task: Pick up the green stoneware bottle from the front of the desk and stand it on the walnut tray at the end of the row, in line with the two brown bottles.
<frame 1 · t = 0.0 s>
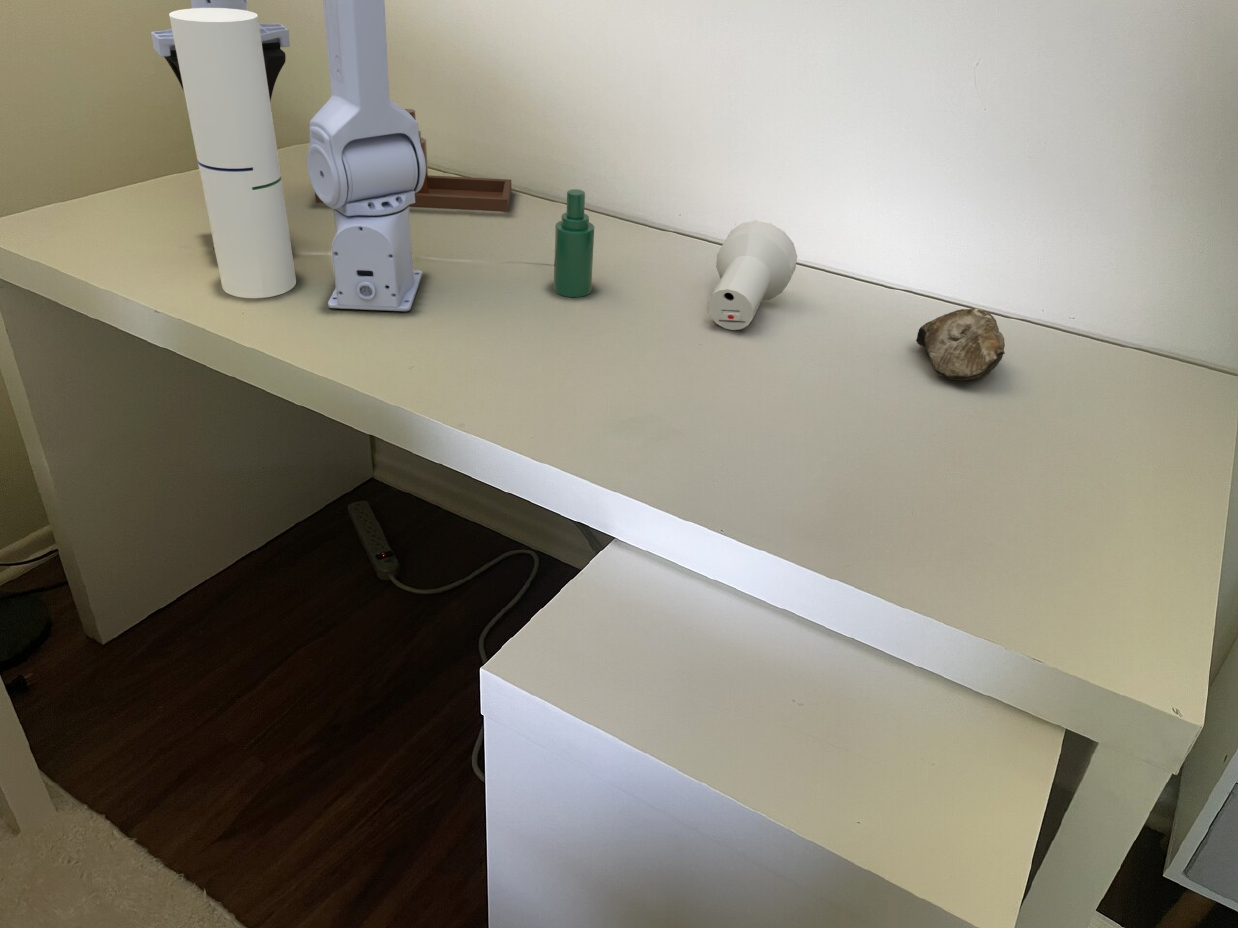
hand: (231, 113, 107), 11 cm above the table, tool pointing down, fingers open, 7 cm apart
fossilized seashell: (954, 367, 88), on the table
tray: (417, 200, 117), on the table
spotlight: (743, 310, 96), on the table
green bottle: (572, 289, 97), on the table
brown bottle 2: (353, 193, 116), resting on tray
brown bottle 1: (413, 196, 117), resting on tray
condiment: (248, 247, 101), on the table
cylindrical container: (260, 285, 93), on the table
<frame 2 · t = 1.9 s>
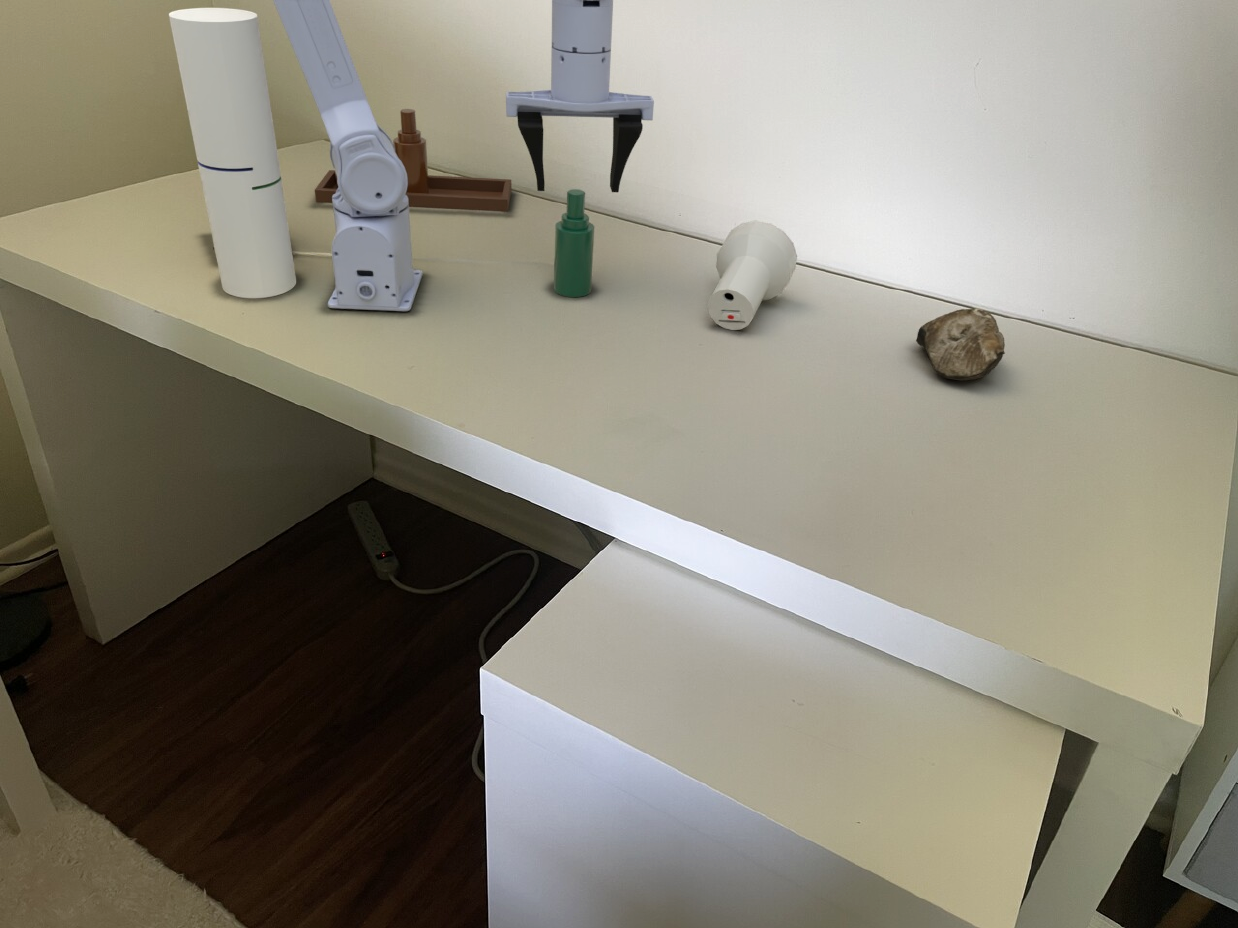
hand: (577, 188, 95), 10 cm above the table, tool pointing down, fingers open, 7 cm apart
nothing on the table moved.
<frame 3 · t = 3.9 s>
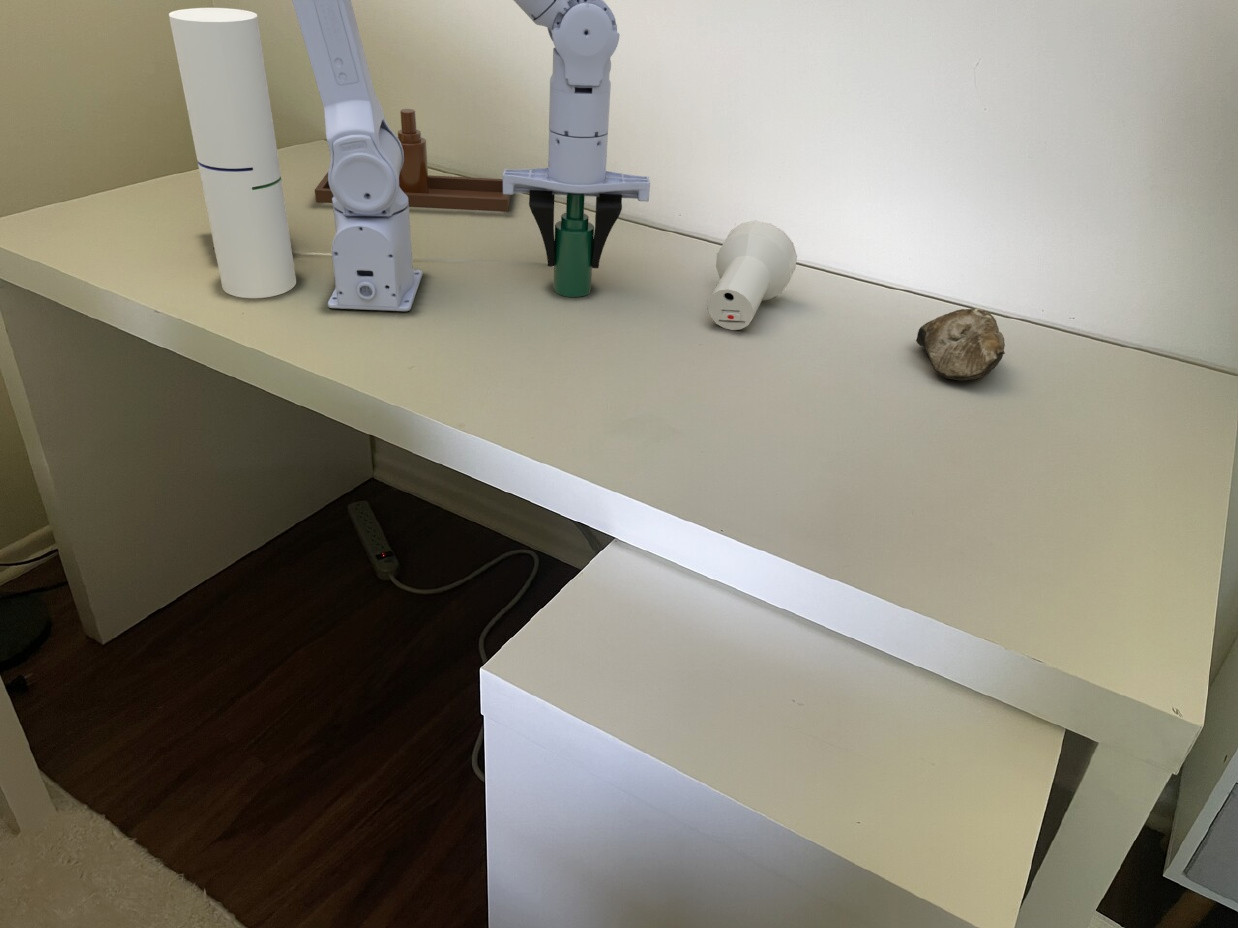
hand: (573, 263, 95), 3 cm above the table, tool pointing down, fingers closed on green bottle, 4 cm apart
green bottle: (572, 289, 97), on the table, touching gripper
everything else where it was.
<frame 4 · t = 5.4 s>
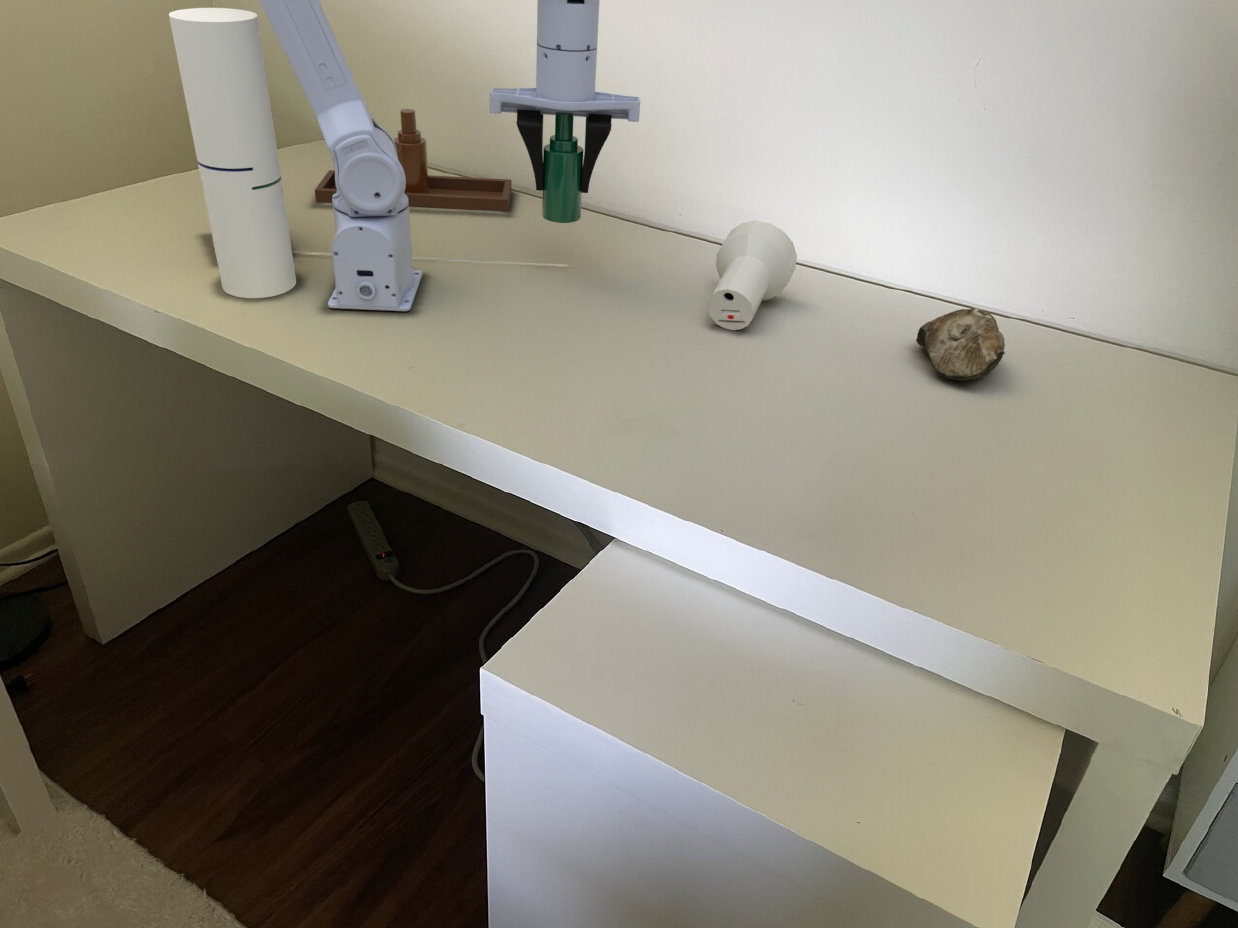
hand: (562, 189, 94), 10 cm above the table, tool pointing down, fingers closed on green bottle, 4 cm apart
green bottle: (561, 216, 95), point 7 cm above the table, touching gripper
everything else where it was.
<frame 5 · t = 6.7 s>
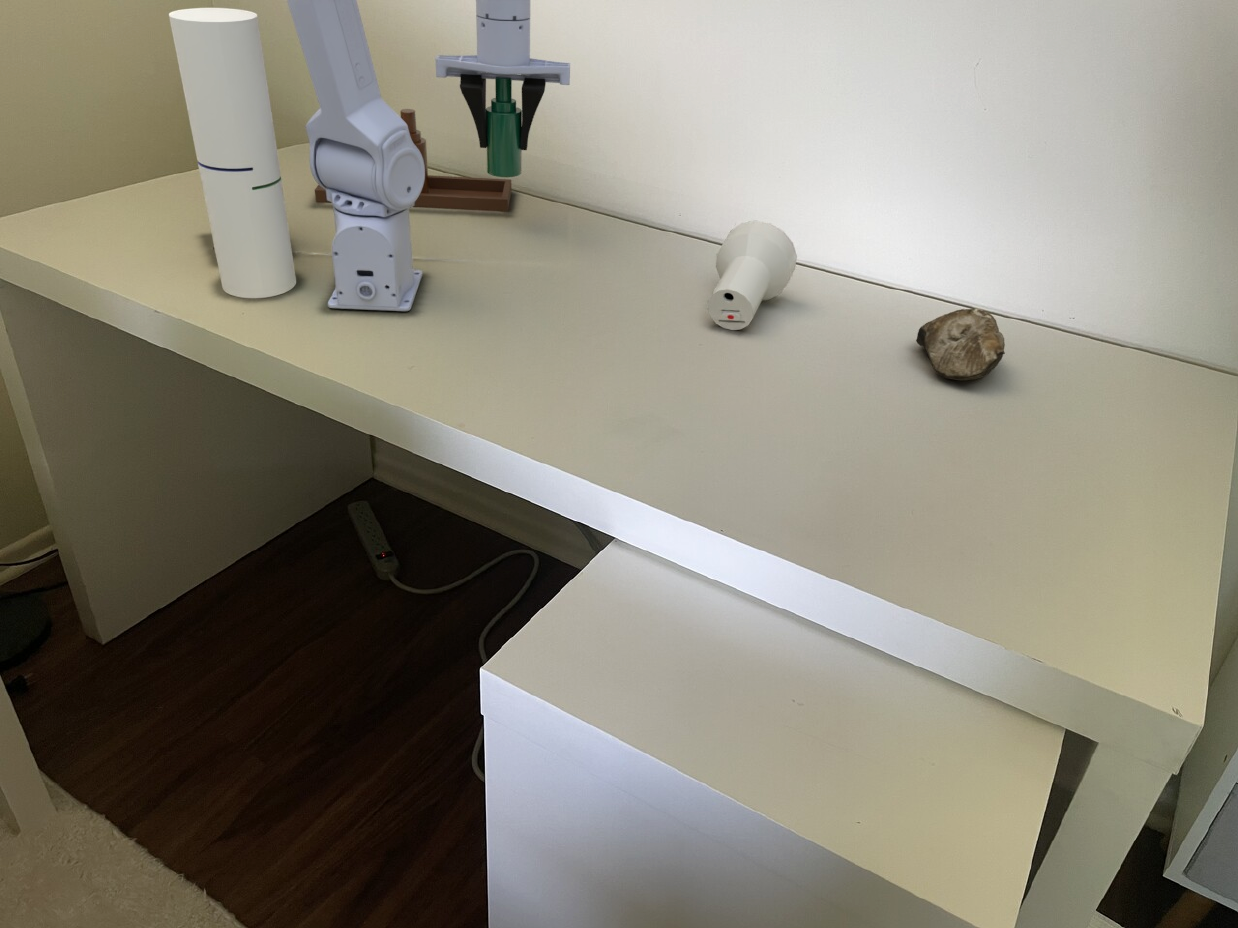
hand: (504, 146, 105), 10 cm above the table, tool pointing down, fingers closed on green bottle, 4 cm apart
green bottle: (504, 172, 106), point 7 cm above the table, touching gripper
everything else where it was.
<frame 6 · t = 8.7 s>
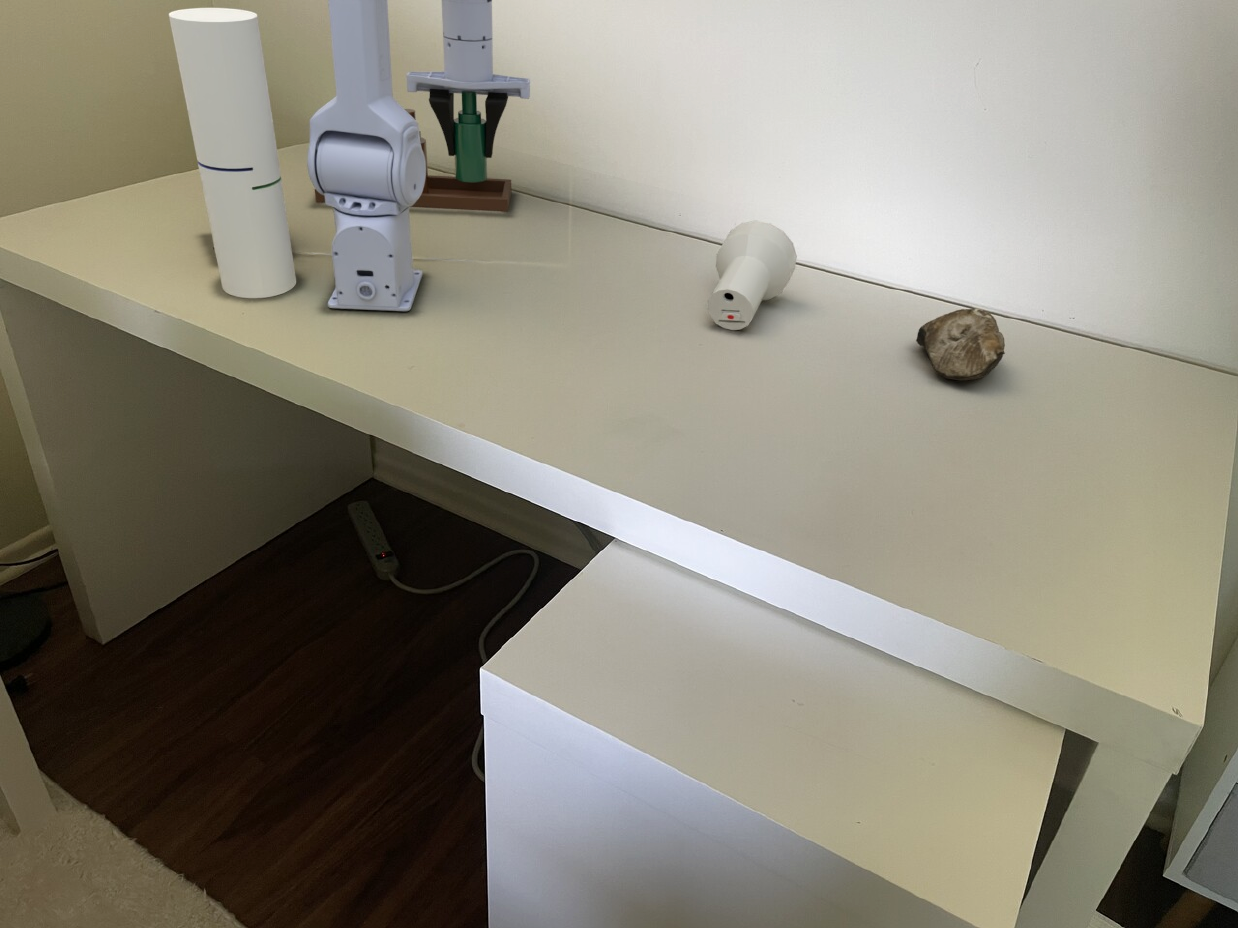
hand: (471, 154, 114), 6 cm above the table, tool pointing down, fingers closed on green bottle, 4 cm apart
green bottle: (471, 177, 116), point 3 cm above the table, touching gripper
everything else where it was.
when the fingers open (3 cm above the table, at t = 9.9 s): green bottle stays where it is, resting on tray.
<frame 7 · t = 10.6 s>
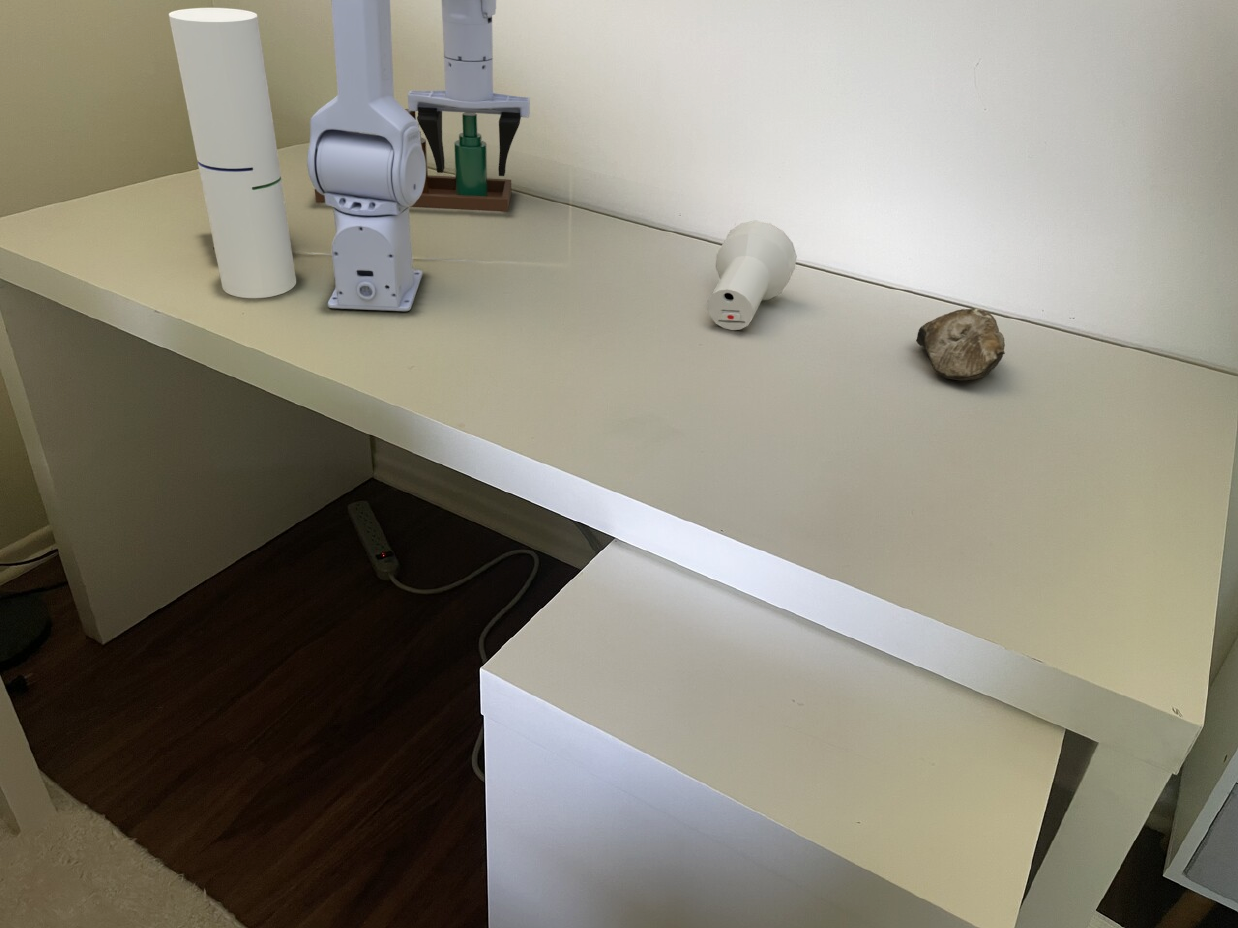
hand: (471, 172, 115), 4 cm above the table, tool pointing down, fingers open, 7 cm apart
green bottle: (471, 198, 117), resting on tray
everything else where it was.
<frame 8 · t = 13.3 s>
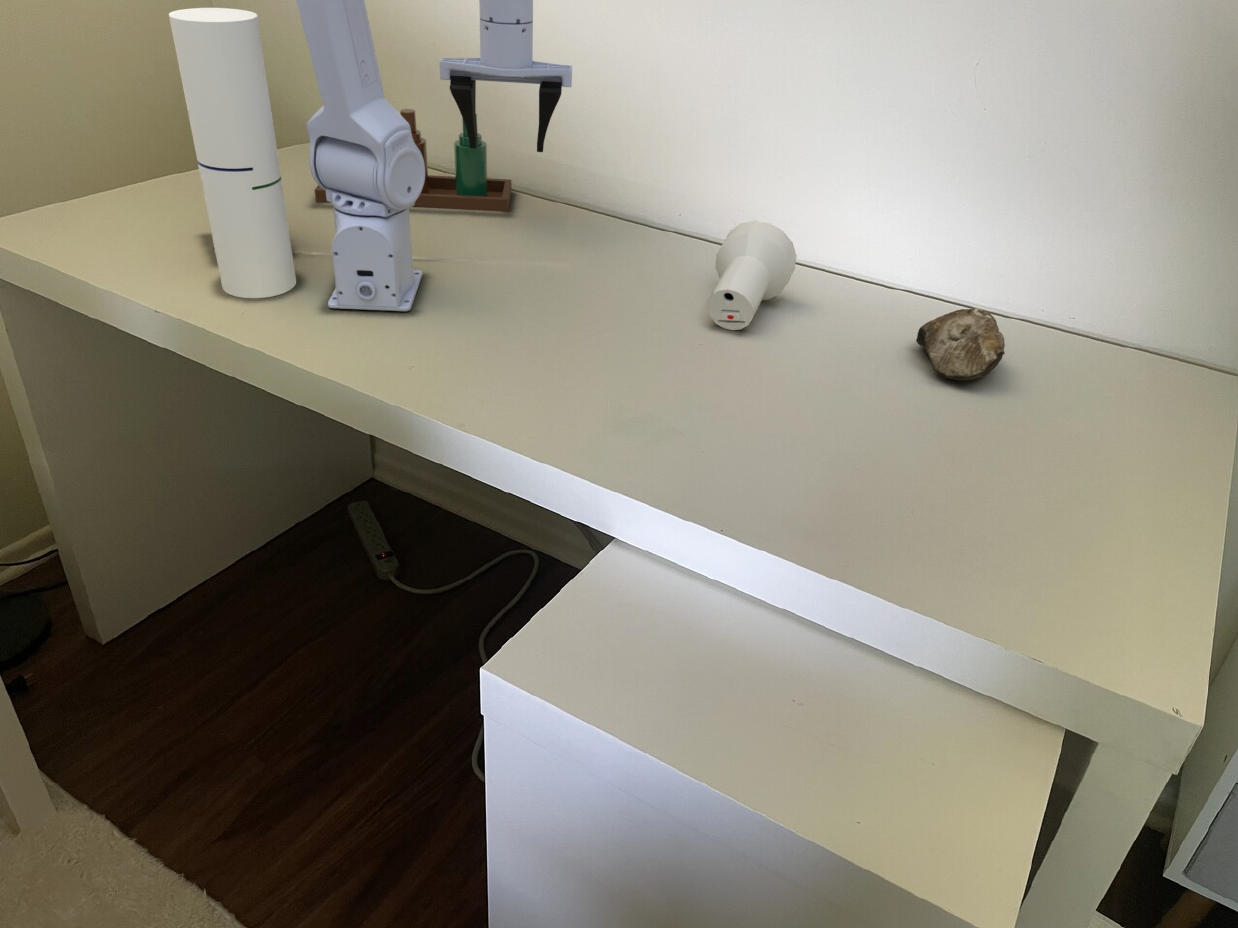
hand: (507, 148, 106), 9 cm above the table, tool pointing down, fingers open, 7 cm apart
nothing on the table moved.
at the end: green bottle 0.0 cm from the target spot in the tray, point 0.5 cm above the tray's base; green bottle tilted 0°; the gripper is holding nothing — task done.
